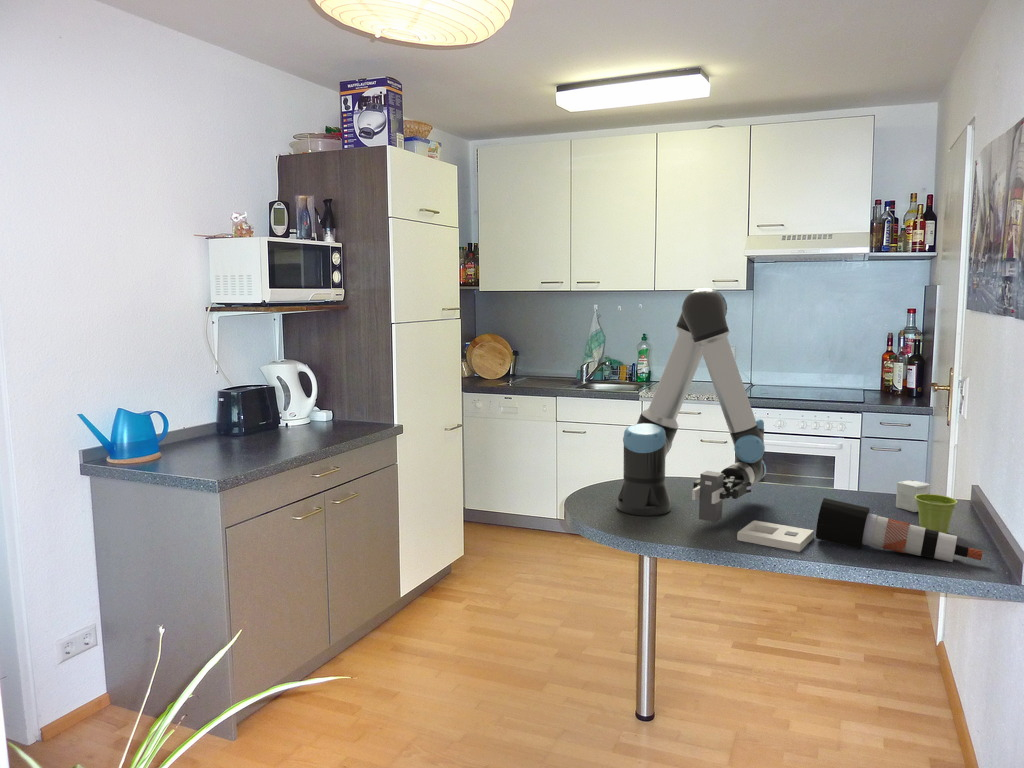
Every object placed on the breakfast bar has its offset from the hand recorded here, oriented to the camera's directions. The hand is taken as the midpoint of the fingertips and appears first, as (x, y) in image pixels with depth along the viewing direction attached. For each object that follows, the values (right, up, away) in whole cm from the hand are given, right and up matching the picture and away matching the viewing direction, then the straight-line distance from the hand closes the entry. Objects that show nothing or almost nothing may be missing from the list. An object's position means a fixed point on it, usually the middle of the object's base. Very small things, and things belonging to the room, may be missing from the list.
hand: (703, 496), depth 194 cm
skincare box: (+64, -6, +20) cm, 67 cm away
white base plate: (+17, -10, -5) cm, 20 cm away
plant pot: (+58, -9, 0) cm, 59 cm away
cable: (+41, -11, -15) cm, 45 cm away
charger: (+3, -6, +5) cm, 9 cm away
